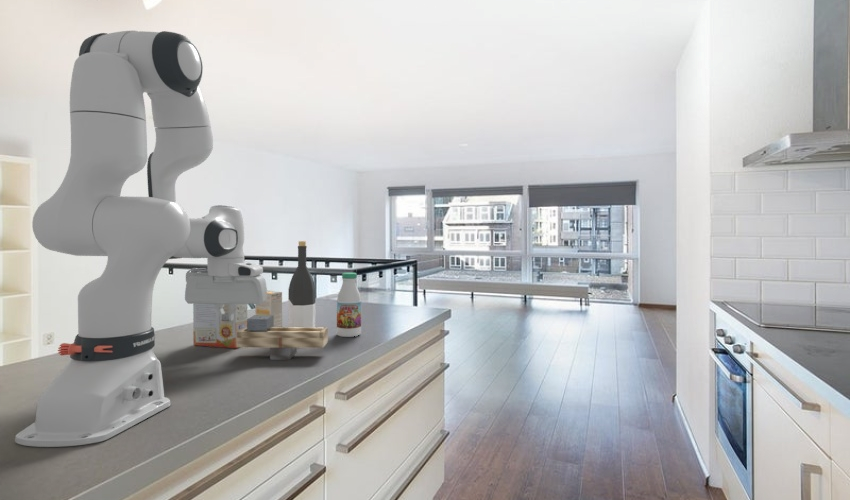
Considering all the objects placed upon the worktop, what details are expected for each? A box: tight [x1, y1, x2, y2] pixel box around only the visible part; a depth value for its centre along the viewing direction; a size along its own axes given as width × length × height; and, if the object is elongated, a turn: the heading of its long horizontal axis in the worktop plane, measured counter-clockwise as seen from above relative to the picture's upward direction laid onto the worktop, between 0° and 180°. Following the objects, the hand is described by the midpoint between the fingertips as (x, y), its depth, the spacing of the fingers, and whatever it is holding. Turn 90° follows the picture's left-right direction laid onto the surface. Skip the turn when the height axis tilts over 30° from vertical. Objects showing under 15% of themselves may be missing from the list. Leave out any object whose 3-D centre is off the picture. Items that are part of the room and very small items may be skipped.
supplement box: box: [254, 290, 283, 327], centre depth 144 cm, size 8×5×13 cm, turn 58°
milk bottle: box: [336, 272, 362, 338], centre depth 140 cm, size 8×8×20 cm
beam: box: [237, 326, 329, 361], centre depth 116 cm, size 22×7×7 cm, turn 92°
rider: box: [247, 314, 274, 331], centre depth 115 cm, size 5×6×5 cm
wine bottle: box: [287, 240, 316, 327], centre depth 135 cm, size 8×8×30 cm
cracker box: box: [192, 304, 249, 349], centre depth 126 cm, size 14×6×21 cm, turn 76°
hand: (226, 320), depth 115 cm, fingers closed
